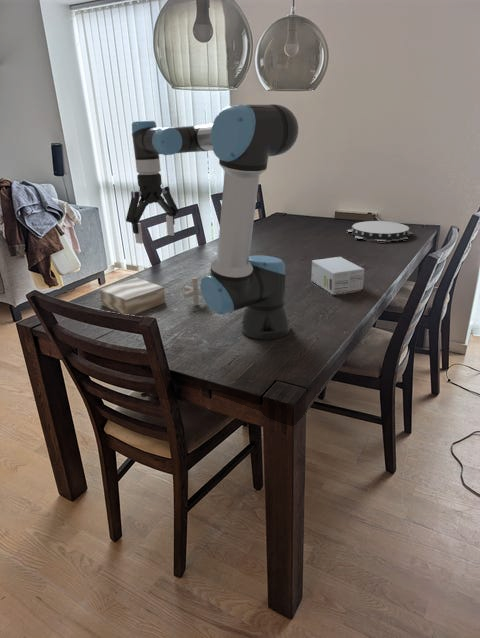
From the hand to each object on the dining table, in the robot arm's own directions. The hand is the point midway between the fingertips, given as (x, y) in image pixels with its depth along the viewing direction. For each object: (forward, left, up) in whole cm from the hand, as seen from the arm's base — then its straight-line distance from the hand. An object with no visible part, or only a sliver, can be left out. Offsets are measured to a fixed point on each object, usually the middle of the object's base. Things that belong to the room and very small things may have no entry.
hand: (155, 238), depth 158 cm
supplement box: (-38, -55, -24) cm, 71 cm away
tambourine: (-13, -138, -25) cm, 141 cm away
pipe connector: (-10, -8, -24) cm, 27 cm away
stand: (+8, +6, -24) cm, 26 cm away
